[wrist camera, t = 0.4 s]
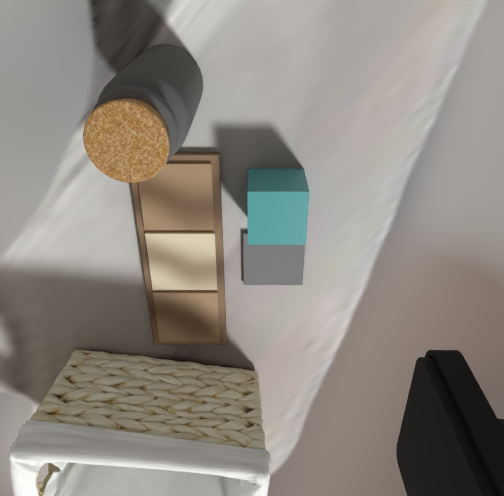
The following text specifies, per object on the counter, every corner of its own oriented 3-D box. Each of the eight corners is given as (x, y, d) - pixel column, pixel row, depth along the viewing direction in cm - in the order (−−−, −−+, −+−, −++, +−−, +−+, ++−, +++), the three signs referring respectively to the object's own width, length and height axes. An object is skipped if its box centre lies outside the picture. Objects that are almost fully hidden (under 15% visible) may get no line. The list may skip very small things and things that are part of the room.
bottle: (117, 83, 39) (51, 145, 26) (162, 26, 37) (113, 64, 24) (173, 131, 41) (137, 211, 29) (218, 81, 39) (201, 142, 26)
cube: (248, 168, 43) (247, 191, 39) (303, 168, 43) (309, 191, 39) (248, 217, 46) (247, 244, 41) (300, 217, 46) (305, 244, 41)
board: (128, 152, 42) (126, 156, 42) (219, 152, 42) (218, 156, 41) (155, 340, 54) (153, 346, 53) (226, 340, 54) (226, 346, 53)
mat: (243, 231, 46) (243, 234, 46) (305, 231, 46) (305, 234, 46) (243, 282, 50) (243, 284, 49) (301, 282, 50) (302, 284, 49)
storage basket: (66, 428, 62) (18, 549, 49) (59, 334, 54) (-1, 451, 41) (250, 447, 64) (249, 568, 51) (271, 358, 55) (276, 477, 43)
